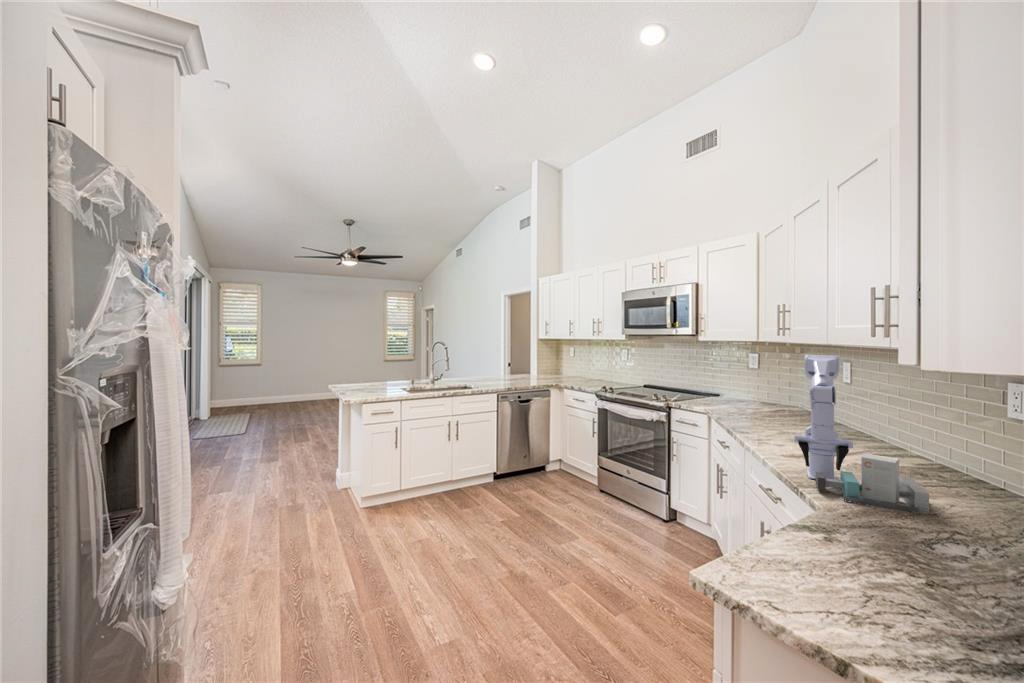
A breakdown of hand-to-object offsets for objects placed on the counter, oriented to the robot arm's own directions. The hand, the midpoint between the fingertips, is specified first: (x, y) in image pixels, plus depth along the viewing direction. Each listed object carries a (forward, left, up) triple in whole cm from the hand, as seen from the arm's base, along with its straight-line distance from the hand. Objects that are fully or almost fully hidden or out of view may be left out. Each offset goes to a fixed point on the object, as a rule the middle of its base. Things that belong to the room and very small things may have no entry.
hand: (822, 467), depth 127 cm
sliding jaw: (-9, +4, -10) cm, 14 cm away
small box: (-9, +15, -10) cm, 21 cm away
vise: (-9, +15, -10) cm, 21 cm away
